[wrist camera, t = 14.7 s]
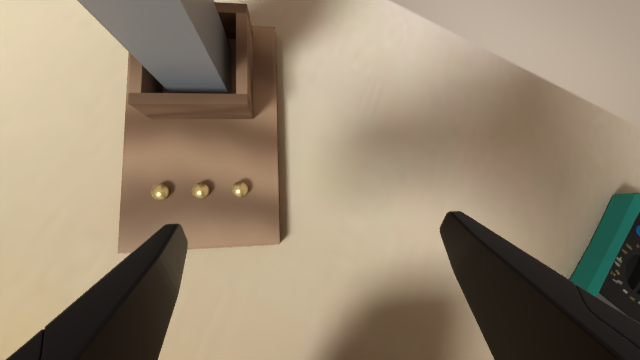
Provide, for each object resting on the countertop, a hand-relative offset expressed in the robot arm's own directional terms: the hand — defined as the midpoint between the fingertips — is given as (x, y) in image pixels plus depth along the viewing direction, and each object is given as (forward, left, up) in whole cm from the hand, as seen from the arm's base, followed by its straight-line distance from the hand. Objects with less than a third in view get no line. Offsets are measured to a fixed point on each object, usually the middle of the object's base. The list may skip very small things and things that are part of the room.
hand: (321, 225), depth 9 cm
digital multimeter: (-7, -29, -14) cm, 33 cm away
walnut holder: (+8, +8, -14) cm, 18 cm away
